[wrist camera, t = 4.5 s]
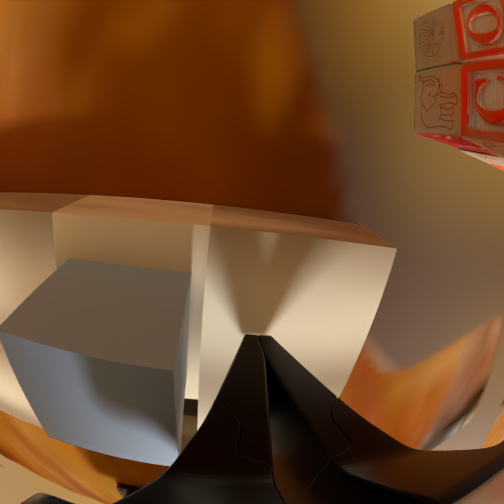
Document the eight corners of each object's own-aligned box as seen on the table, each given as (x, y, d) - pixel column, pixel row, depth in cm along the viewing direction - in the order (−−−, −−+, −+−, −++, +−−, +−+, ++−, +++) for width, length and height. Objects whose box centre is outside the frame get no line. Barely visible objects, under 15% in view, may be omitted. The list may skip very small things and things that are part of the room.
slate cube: (186, 372, 10) (179, 467, 6) (85, 355, 9) (48, 436, 5) (191, 273, 8) (173, 370, 4) (69, 258, 8) (-4, 329, 4)
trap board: (293, 423, 16) (308, 480, 12) (-58, 343, 11) (-82, 372, 7) (359, 223, 11) (422, 266, 7) (-94, 195, 7) (-131, 212, 3)
